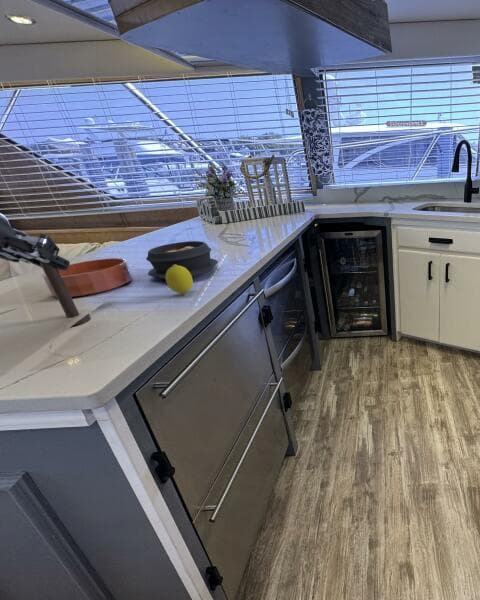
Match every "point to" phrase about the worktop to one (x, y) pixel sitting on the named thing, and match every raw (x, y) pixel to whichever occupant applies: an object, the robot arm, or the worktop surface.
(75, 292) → the bowl
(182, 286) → the lemon
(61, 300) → the muddler
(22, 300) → the worktop surface
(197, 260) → the casserole
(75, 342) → the worktop surface
